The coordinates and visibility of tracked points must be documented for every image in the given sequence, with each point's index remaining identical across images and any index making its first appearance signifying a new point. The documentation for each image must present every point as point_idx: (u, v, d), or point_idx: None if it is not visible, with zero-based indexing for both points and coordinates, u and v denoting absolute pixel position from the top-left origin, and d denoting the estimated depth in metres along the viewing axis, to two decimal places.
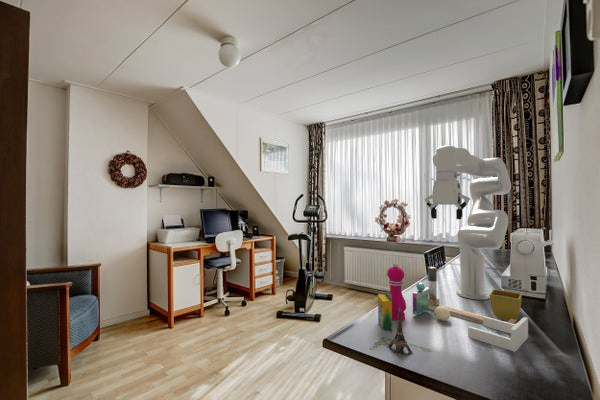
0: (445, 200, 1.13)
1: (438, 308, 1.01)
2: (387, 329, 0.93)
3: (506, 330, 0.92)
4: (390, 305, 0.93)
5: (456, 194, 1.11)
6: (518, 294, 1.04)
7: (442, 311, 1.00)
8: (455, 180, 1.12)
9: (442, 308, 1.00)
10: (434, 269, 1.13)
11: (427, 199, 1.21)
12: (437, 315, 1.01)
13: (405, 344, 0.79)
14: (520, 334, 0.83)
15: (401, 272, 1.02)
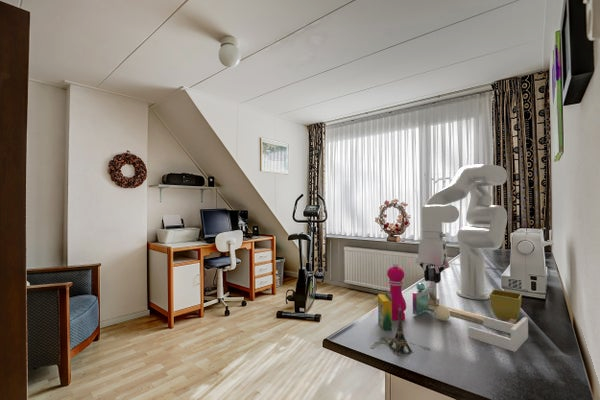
0: (431, 260, 1.12)
1: (438, 308, 1.01)
2: (387, 329, 0.93)
3: (506, 330, 0.92)
4: (390, 305, 0.93)
5: (441, 256, 1.10)
6: (518, 294, 1.04)
7: (442, 311, 1.00)
8: (440, 241, 1.10)
9: (442, 308, 1.00)
10: (434, 269, 1.13)
11: (418, 261, 1.18)
12: (437, 315, 1.01)
13: (405, 343, 0.80)
14: (520, 334, 0.83)
15: (401, 272, 1.02)
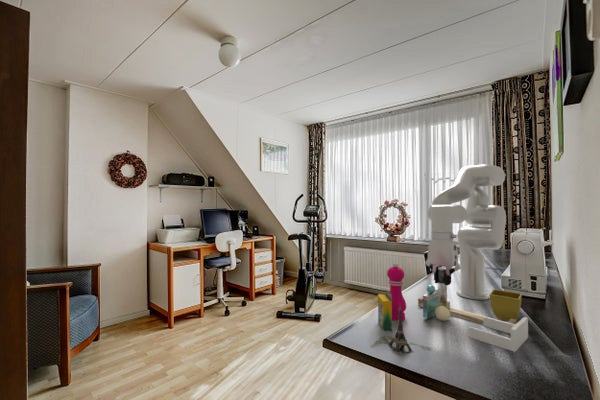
0: (441, 262, 1.09)
1: (438, 308, 1.01)
2: (387, 329, 0.93)
3: (506, 330, 0.92)
4: (390, 305, 0.93)
5: (452, 257, 1.06)
6: (518, 294, 1.04)
7: (442, 311, 1.00)
8: (451, 242, 1.07)
9: (442, 308, 1.00)
10: (445, 270, 1.10)
11: (427, 262, 1.15)
12: (437, 315, 1.01)
13: (405, 342, 0.80)
14: (520, 334, 0.83)
15: (401, 272, 1.02)
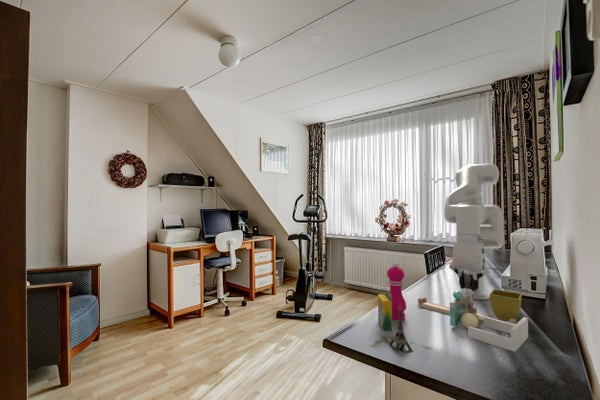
0: (468, 266, 1.02)
1: (467, 327, 0.94)
2: (387, 329, 0.93)
3: (506, 330, 0.92)
4: (390, 305, 0.93)
5: (480, 261, 0.99)
6: (518, 294, 1.04)
7: (462, 323, 0.94)
8: (479, 245, 1.00)
9: (463, 325, 0.95)
10: (471, 275, 1.02)
11: (452, 266, 1.08)
12: (469, 322, 0.93)
13: (405, 342, 0.80)
14: (520, 334, 0.83)
15: (401, 272, 1.02)
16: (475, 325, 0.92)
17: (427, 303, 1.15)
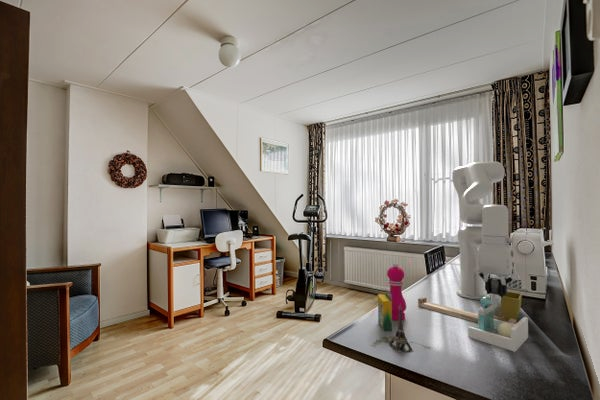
0: (495, 270, 0.96)
1: None
2: (387, 329, 0.93)
3: None
4: (390, 305, 0.93)
5: (510, 265, 0.93)
6: (518, 294, 1.04)
7: (510, 337, 0.84)
8: (508, 248, 0.94)
9: None
10: (499, 279, 0.96)
11: (477, 270, 1.01)
12: (502, 331, 0.86)
13: (405, 341, 0.81)
14: (520, 334, 0.83)
15: (401, 272, 1.02)
16: (503, 324, 0.86)
17: (427, 303, 1.15)
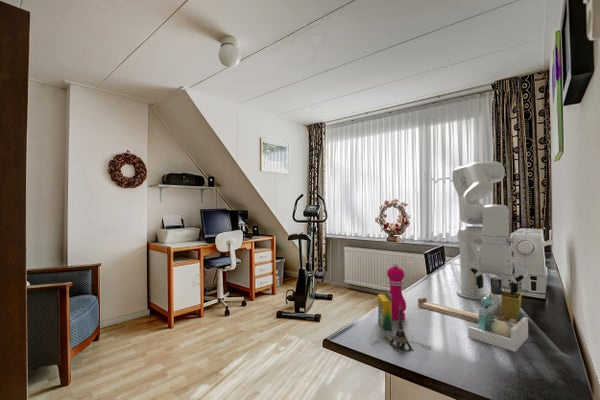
0: (496, 270, 0.95)
1: (502, 326, 0.86)
2: (387, 329, 0.93)
3: None
4: (390, 305, 0.93)
5: (510, 265, 0.93)
6: (518, 294, 1.04)
7: (504, 332, 0.86)
8: (509, 248, 0.93)
9: (506, 329, 0.86)
10: (500, 280, 0.96)
11: (471, 264, 1.03)
12: (495, 330, 0.87)
13: (405, 341, 0.81)
14: (520, 334, 0.83)
15: (401, 272, 1.02)
16: (492, 324, 0.89)
17: (427, 303, 1.15)
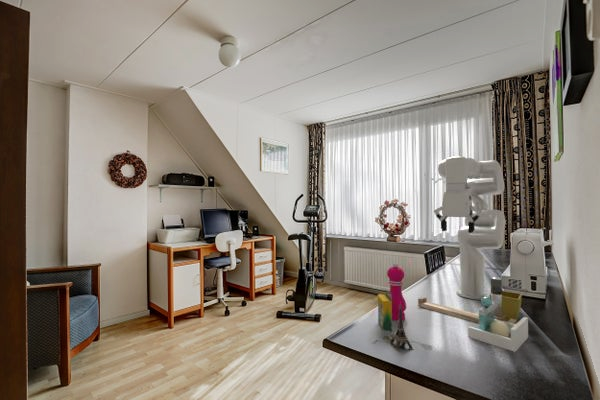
0: (456, 213, 1.10)
1: (500, 325, 0.87)
2: (387, 329, 0.93)
3: None
4: (390, 305, 0.93)
5: (468, 207, 1.07)
6: (518, 294, 1.04)
7: (503, 331, 0.86)
8: (466, 192, 1.08)
9: (505, 328, 0.86)
10: (500, 280, 0.96)
11: (436, 211, 1.17)
12: (494, 330, 0.87)
13: (406, 340, 0.82)
14: (520, 334, 0.83)
15: (401, 272, 1.02)
16: (491, 324, 0.89)
17: (427, 303, 1.15)
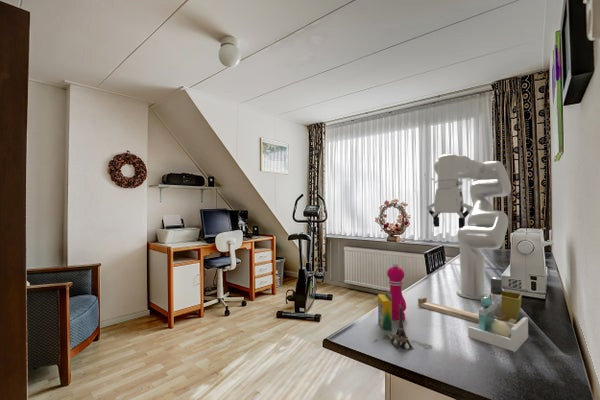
0: (447, 209, 1.14)
1: (501, 325, 0.87)
2: (387, 329, 0.93)
3: None
4: (390, 305, 0.93)
5: (458, 203, 1.11)
6: (518, 294, 1.04)
7: (504, 331, 0.86)
8: (457, 189, 1.12)
9: (506, 328, 0.86)
10: (500, 280, 0.96)
11: (429, 207, 1.21)
12: (494, 330, 0.87)
13: (406, 339, 0.82)
14: (520, 334, 0.83)
15: (401, 272, 1.02)
16: (492, 324, 0.89)
17: (427, 303, 1.15)
